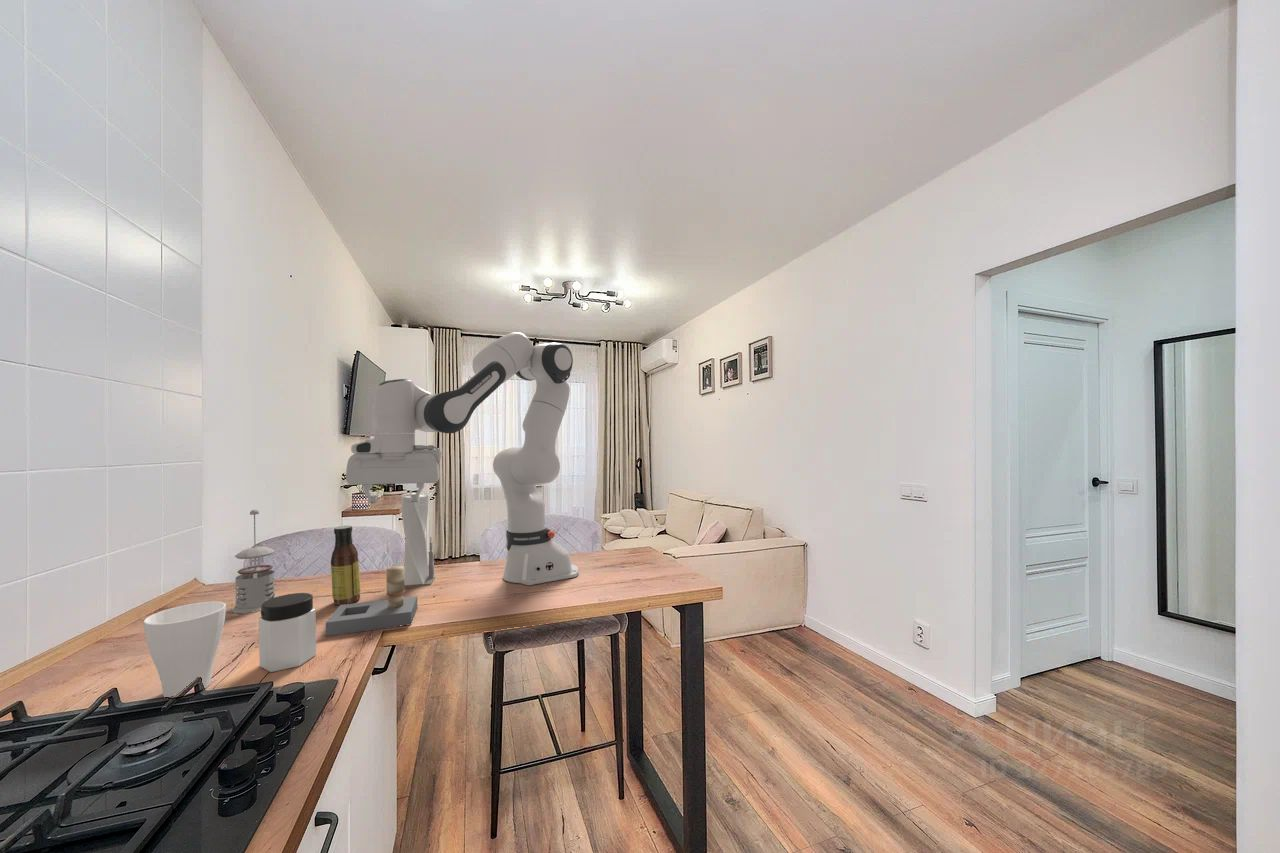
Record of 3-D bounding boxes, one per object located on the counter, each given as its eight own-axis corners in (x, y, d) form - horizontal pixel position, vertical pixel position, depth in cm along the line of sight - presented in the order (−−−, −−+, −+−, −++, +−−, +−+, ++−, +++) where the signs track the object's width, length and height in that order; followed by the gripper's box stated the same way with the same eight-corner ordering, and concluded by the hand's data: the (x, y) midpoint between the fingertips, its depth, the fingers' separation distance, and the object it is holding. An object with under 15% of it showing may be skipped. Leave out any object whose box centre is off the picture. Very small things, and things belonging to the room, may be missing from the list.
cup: (136, 714, 76) (135, 630, 76) (152, 686, 85) (151, 610, 85) (223, 692, 82) (222, 614, 82) (230, 668, 91) (229, 597, 91)
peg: (406, 601, 116) (405, 564, 116) (403, 607, 112) (403, 569, 112) (388, 604, 115) (387, 566, 115) (385, 609, 111) (384, 571, 111)
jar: (284, 650, 98) (284, 592, 98) (324, 650, 98) (323, 591, 98) (248, 673, 89) (247, 608, 89) (292, 672, 89) (291, 608, 89)
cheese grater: (429, 586, 136) (428, 488, 137) (398, 589, 135) (397, 490, 135) (435, 577, 145) (433, 485, 145) (406, 580, 143) (404, 486, 143)
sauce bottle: (352, 596, 130) (351, 523, 130) (365, 600, 126) (364, 525, 126) (326, 604, 124) (325, 527, 124) (339, 608, 121) (338, 529, 121)
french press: (230, 616, 116) (228, 514, 116) (231, 603, 125) (230, 508, 125) (280, 606, 123) (279, 509, 123) (278, 595, 132) (277, 504, 132)
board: (417, 607, 120) (417, 596, 120) (411, 624, 110) (411, 611, 110) (340, 617, 115) (340, 605, 115) (325, 636, 104) (325, 622, 104)
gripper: (442, 444, 121) (442, 499, 121) (352, 445, 116) (352, 502, 116) (438, 445, 115) (438, 502, 115) (343, 445, 110) (342, 505, 110)
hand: (394, 502), depth 115 cm, fingers open, 8 cm apart
